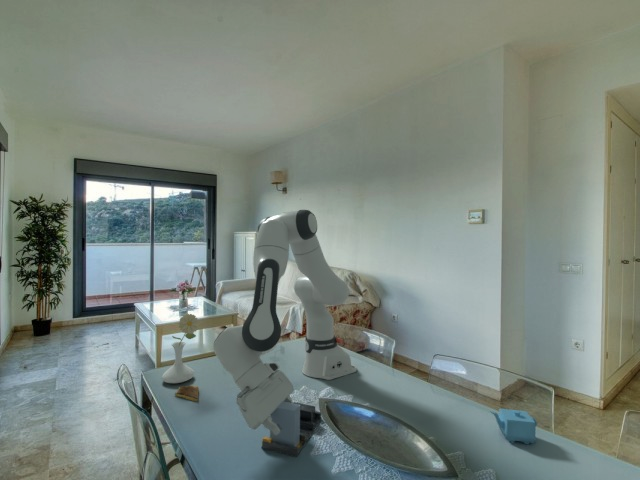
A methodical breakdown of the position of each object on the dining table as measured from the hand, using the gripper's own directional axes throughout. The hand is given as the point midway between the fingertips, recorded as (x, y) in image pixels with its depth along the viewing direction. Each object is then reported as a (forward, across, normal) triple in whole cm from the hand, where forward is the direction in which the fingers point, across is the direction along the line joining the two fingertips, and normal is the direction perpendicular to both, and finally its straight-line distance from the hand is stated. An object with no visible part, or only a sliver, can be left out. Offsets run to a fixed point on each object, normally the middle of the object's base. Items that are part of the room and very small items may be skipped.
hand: (287, 422), depth 89 cm
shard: (-26, +14, +35) cm, 46 cm away
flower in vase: (-35, +22, +43) cm, 60 cm away
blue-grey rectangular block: (+3, 0, +4) cm, 5 cm away
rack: (+4, +6, +5) cm, 8 cm away
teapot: (+45, +26, -36) cm, 63 cm away
